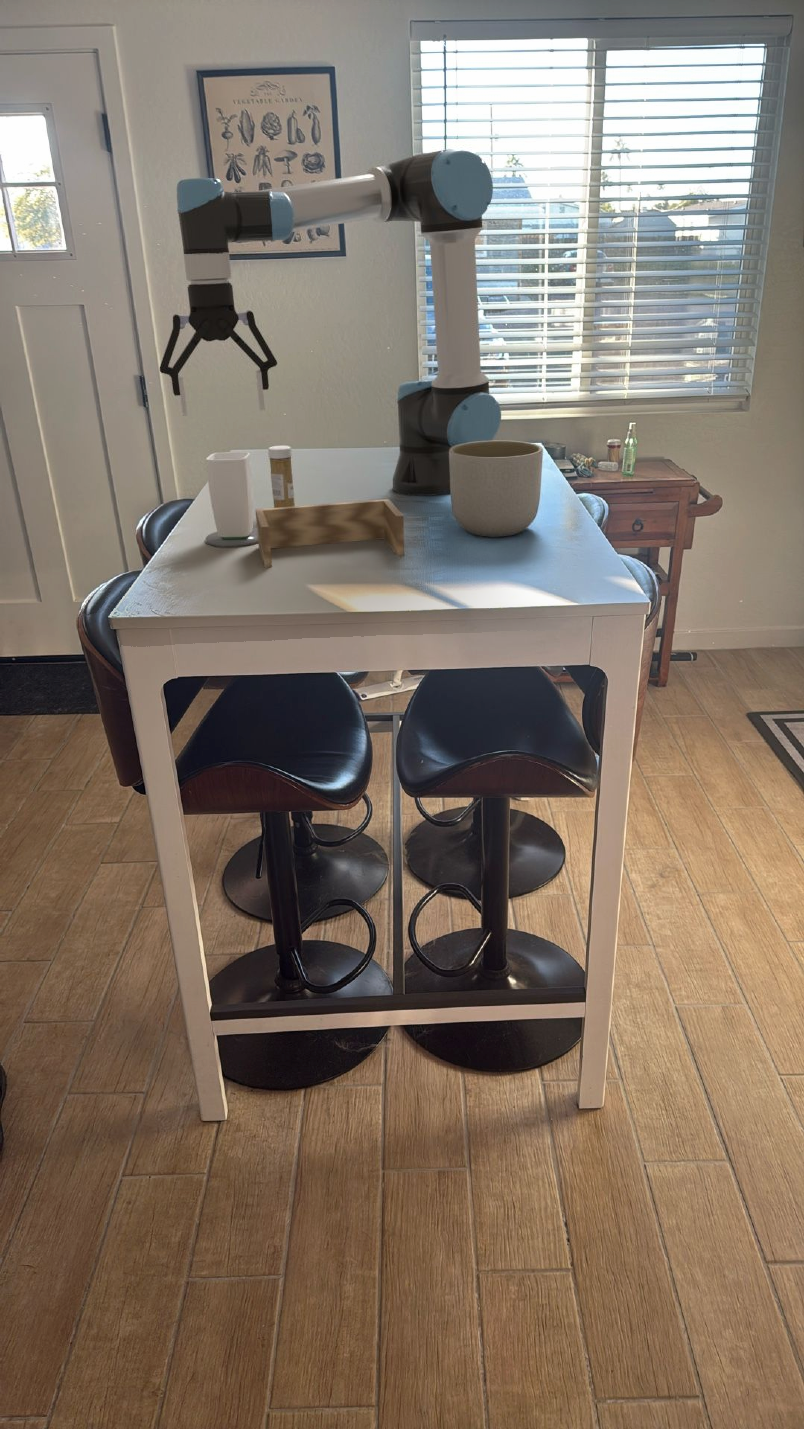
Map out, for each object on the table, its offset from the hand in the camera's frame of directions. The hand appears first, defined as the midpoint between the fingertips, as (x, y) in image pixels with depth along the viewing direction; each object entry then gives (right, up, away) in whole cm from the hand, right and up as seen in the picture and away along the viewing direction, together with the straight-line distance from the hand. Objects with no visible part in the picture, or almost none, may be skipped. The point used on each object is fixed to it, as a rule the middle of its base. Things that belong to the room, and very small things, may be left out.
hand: (223, 412), depth 177 cm
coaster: (0, -21, +10) cm, 23 cm away
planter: (+49, -19, +10) cm, 54 cm away
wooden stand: (+19, -25, 0) cm, 31 cm away
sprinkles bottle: (+8, -13, +27) cm, 31 cm away
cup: (+1, -21, +10) cm, 23 cm away
